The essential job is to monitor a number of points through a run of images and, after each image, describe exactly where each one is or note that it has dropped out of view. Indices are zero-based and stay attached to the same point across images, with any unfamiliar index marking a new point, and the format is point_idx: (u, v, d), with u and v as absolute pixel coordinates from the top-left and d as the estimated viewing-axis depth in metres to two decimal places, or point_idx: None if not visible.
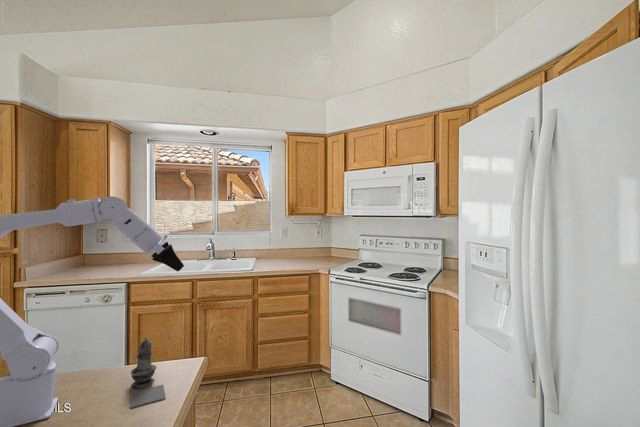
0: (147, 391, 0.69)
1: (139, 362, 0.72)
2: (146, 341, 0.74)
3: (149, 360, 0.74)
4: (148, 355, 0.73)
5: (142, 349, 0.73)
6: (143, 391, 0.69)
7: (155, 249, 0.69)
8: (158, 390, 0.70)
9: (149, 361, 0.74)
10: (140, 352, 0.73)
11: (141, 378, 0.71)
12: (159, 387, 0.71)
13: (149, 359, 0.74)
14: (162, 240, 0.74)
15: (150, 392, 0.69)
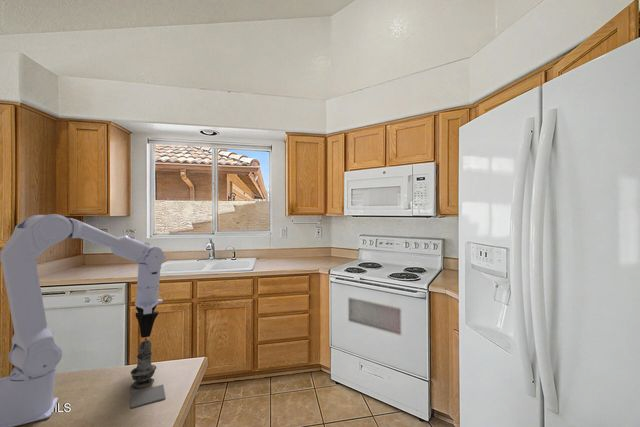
0: (147, 391, 0.69)
1: (139, 362, 0.72)
2: (146, 341, 0.74)
3: (149, 360, 0.74)
4: (148, 355, 0.73)
5: (142, 349, 0.73)
6: (143, 391, 0.69)
7: (145, 309, 0.76)
8: (158, 390, 0.70)
9: (149, 361, 0.74)
10: (140, 352, 0.73)
11: (141, 378, 0.71)
12: (159, 387, 0.71)
13: (149, 359, 0.74)
14: (156, 303, 0.81)
15: (150, 392, 0.69)
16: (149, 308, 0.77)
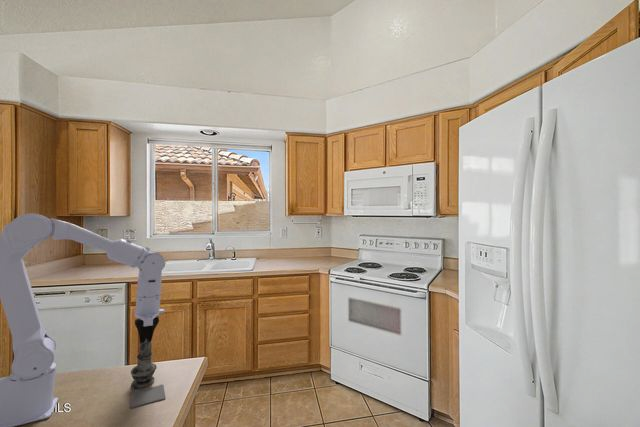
0: (147, 391, 0.69)
1: (139, 363, 0.72)
2: (146, 342, 0.73)
3: (149, 360, 0.73)
4: (148, 356, 0.73)
5: (142, 350, 0.72)
6: (143, 391, 0.69)
7: (146, 320, 0.69)
8: (158, 390, 0.70)
9: (149, 361, 0.73)
10: (140, 353, 0.72)
11: (141, 379, 0.71)
12: (159, 387, 0.71)
13: (149, 360, 0.73)
14: (157, 314, 0.74)
15: (150, 392, 0.69)
16: (150, 320, 0.70)
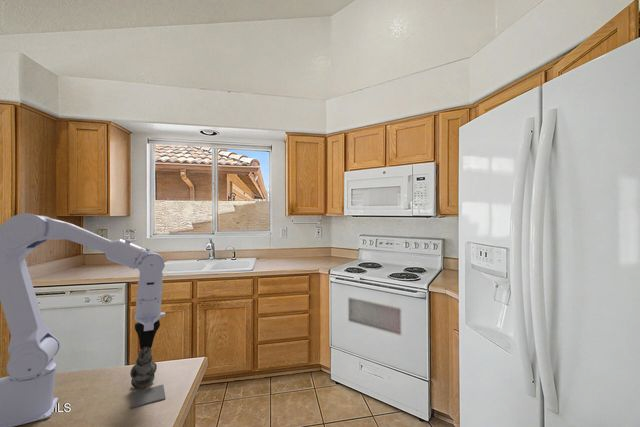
0: (147, 391, 0.69)
1: (139, 367, 0.70)
2: (145, 351, 0.69)
3: (149, 365, 0.71)
4: (148, 362, 0.70)
5: (141, 359, 0.68)
6: (143, 391, 0.69)
7: (146, 325, 0.66)
8: (158, 390, 0.70)
9: (149, 365, 0.71)
10: (139, 360, 0.69)
11: (141, 382, 0.70)
12: (159, 387, 0.71)
13: (149, 364, 0.71)
14: (158, 318, 0.71)
15: (150, 392, 0.69)
16: (150, 324, 0.67)
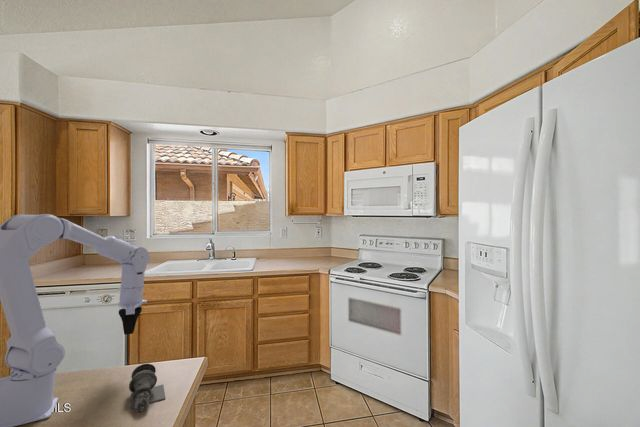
0: None
1: None
2: None
3: None
4: None
5: None
6: None
7: (128, 309, 0.75)
8: (158, 390, 0.70)
9: None
10: None
11: None
12: (159, 387, 0.71)
13: None
14: (139, 304, 0.81)
15: None
16: (132, 309, 0.76)
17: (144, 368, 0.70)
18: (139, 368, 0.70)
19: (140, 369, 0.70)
